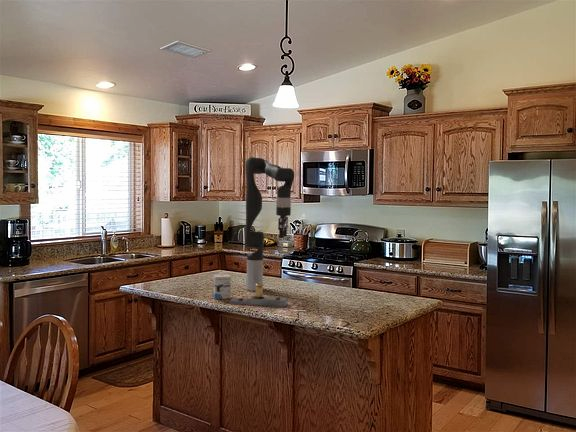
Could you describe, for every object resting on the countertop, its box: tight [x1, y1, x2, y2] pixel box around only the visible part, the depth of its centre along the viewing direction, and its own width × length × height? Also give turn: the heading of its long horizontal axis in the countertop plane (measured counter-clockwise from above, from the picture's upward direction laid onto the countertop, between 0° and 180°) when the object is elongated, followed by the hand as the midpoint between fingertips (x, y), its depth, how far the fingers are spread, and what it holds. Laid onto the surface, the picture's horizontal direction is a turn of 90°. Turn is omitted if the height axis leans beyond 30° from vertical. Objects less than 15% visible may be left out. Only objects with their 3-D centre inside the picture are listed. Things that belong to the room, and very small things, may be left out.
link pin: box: [254, 283, 264, 299], centre depth 261 cm, size 4×4×10 cm
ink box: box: [212, 274, 232, 300], centre depth 274 cm, size 8×5×12 cm, turn 105°
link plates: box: [229, 295, 289, 308], centre depth 261 cm, size 7×28×4 cm, turn 80°
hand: (283, 237), depth 273 cm, fingers open, 8 cm apart
